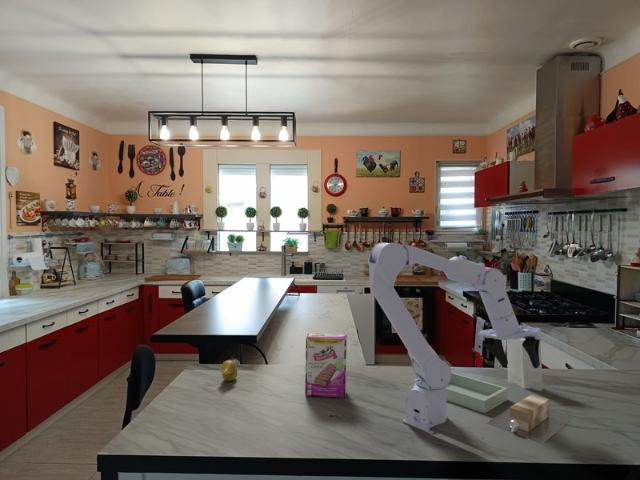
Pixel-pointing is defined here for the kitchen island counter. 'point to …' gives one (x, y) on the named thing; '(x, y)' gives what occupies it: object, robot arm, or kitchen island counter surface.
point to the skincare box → (522, 366)
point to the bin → (475, 393)
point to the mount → (538, 432)
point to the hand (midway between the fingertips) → (520, 365)
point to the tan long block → (530, 412)
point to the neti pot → (229, 370)
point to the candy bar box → (326, 365)
